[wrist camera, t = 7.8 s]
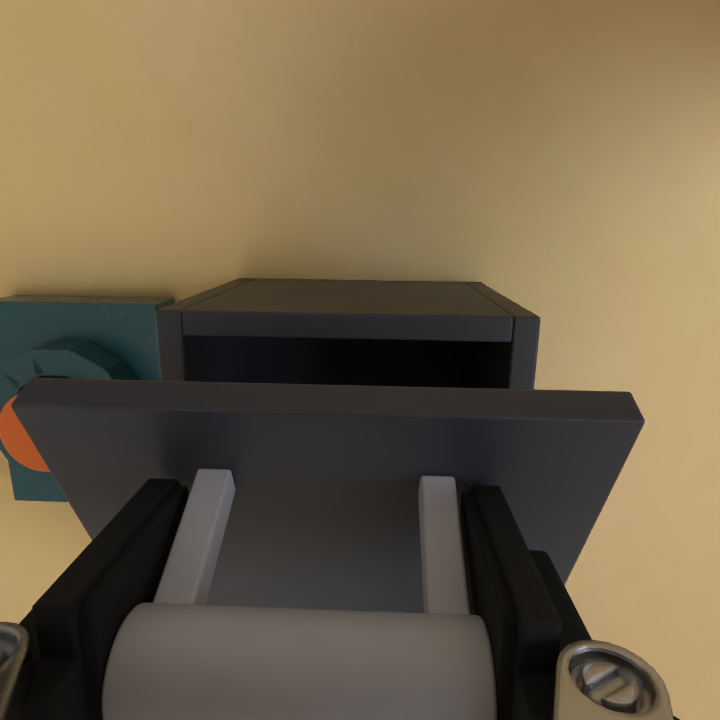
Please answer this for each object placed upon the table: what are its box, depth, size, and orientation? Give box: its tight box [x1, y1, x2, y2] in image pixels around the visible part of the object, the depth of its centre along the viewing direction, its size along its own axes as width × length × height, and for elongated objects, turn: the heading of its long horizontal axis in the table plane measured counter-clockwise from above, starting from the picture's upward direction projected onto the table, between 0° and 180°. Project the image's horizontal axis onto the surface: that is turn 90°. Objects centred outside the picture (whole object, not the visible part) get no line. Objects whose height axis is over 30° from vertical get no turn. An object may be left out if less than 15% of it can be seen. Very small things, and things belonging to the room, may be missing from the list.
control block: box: [0, 295, 174, 502], centre depth 25 cm, size 10×8×4 cm
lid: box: [11, 378, 644, 720], centre depth 13 cm, size 13×12×5 cm
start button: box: [0, 395, 50, 472], centre depth 23 cm, size 4×4×2 cm
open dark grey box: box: [155, 278, 540, 390], centre depth 22 cm, size 13×12×10 cm
